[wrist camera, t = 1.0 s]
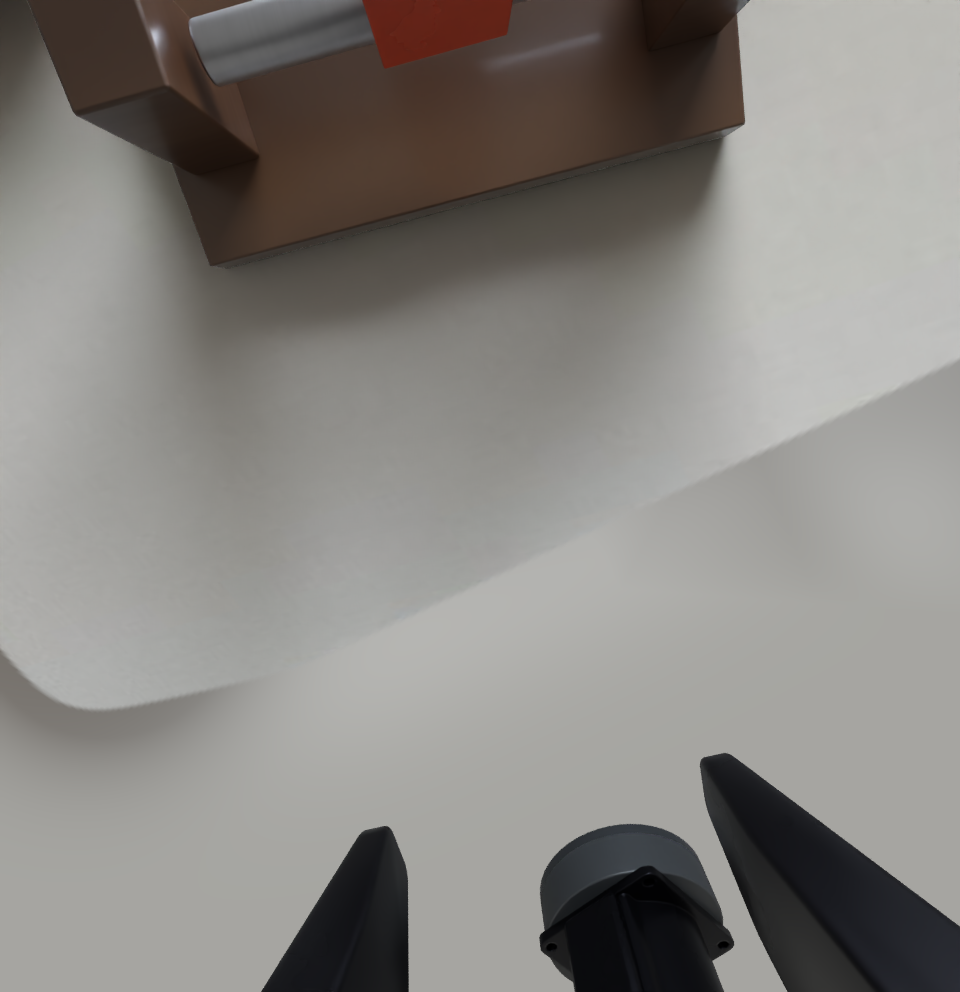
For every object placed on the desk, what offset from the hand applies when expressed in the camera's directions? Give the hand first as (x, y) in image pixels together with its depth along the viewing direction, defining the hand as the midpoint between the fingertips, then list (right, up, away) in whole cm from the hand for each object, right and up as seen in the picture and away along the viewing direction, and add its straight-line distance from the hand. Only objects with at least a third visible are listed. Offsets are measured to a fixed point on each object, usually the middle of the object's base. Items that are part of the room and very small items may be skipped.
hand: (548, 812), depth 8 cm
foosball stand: (-2, +17, +8) cm, 19 cm away
